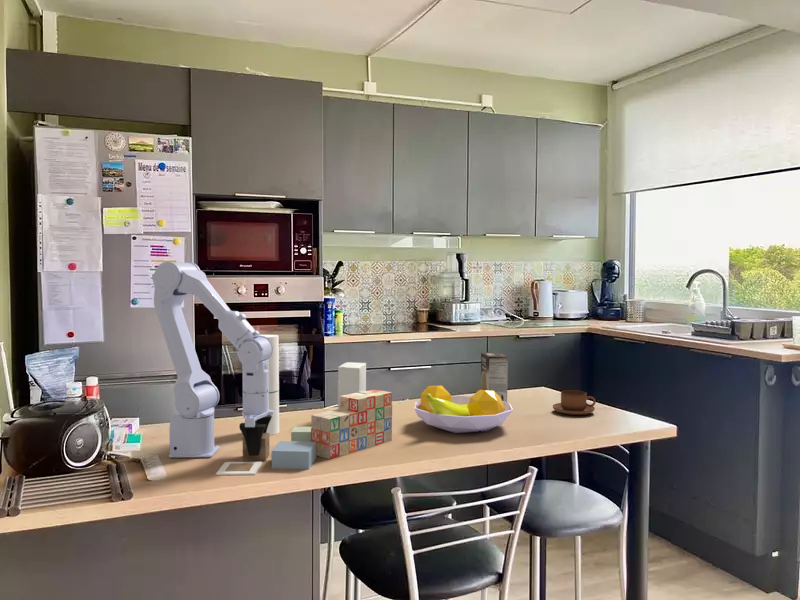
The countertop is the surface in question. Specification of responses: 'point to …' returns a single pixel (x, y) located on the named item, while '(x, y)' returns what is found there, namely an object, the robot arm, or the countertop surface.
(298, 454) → the base block
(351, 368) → the skincare box
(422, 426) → the countertop surface
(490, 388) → the coffee box
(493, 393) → the fruit bowl
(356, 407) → the stack of blocks
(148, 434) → the countertop surface
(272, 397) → the cylindrical container
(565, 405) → the cup and saucer
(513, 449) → the countertop surface
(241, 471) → the white flat square frame
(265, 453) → the walnut cube
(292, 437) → the sage cube
